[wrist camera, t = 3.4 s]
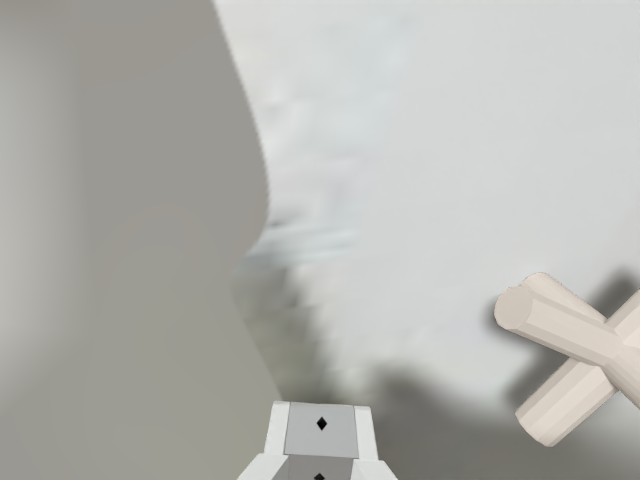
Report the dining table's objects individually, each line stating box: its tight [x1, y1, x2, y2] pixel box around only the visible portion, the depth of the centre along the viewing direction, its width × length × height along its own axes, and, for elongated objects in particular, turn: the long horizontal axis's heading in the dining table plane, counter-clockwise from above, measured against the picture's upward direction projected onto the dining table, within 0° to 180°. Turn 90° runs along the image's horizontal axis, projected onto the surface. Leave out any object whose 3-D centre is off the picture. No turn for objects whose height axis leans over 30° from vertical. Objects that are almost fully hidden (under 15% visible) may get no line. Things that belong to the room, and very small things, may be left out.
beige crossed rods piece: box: [494, 273, 640, 447], centre depth 13 cm, size 10×10×10 cm
